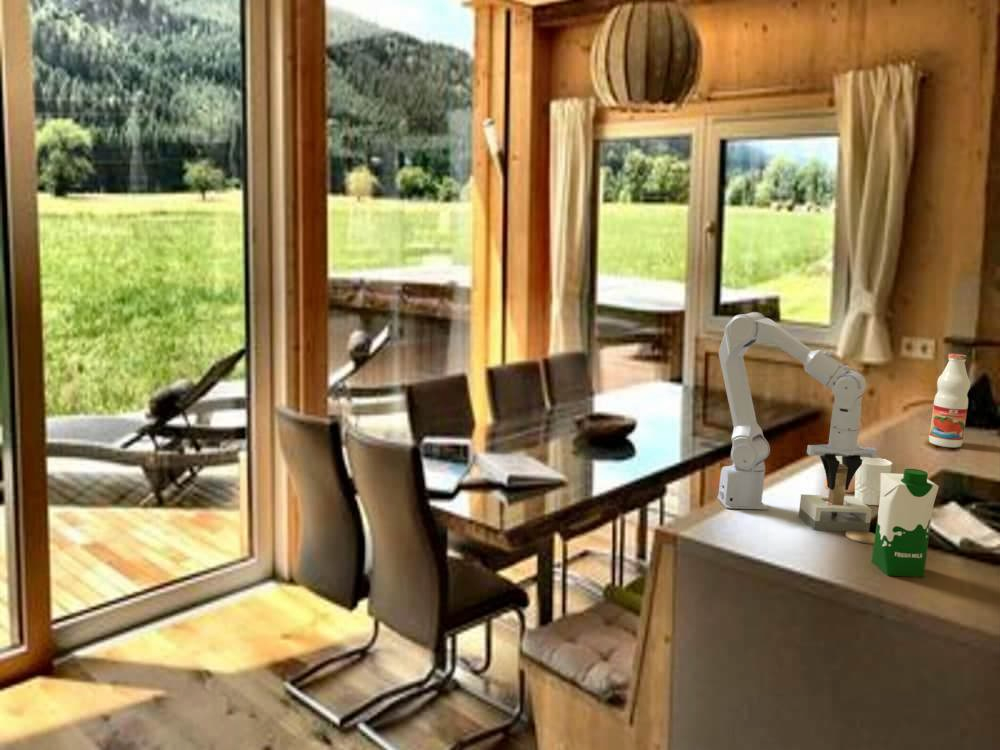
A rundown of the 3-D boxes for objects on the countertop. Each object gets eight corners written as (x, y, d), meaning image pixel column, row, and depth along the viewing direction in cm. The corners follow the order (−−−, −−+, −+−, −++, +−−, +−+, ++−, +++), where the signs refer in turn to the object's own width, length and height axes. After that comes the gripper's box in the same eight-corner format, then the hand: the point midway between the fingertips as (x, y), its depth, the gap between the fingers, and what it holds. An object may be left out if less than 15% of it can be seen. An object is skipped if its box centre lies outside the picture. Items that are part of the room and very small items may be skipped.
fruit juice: (959, 442, 283) (972, 354, 278) (963, 449, 274) (977, 358, 269) (926, 438, 286) (939, 351, 281) (929, 445, 277) (942, 355, 272)
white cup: (865, 507, 212) (870, 465, 210) (844, 496, 219) (849, 456, 217) (894, 505, 214) (899, 465, 212) (872, 495, 221) (877, 456, 220)
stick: (832, 504, 196) (836, 466, 195) (827, 501, 199) (832, 463, 197) (843, 505, 196) (848, 467, 195) (838, 501, 199) (843, 464, 197)
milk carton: (884, 577, 169) (898, 474, 165) (864, 559, 178) (876, 460, 174) (931, 579, 169) (945, 476, 166) (908, 561, 178) (921, 462, 175)
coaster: (854, 543, 187) (854, 541, 187) (840, 531, 194) (840, 529, 193) (887, 544, 187) (887, 542, 187) (872, 532, 194) (872, 530, 194)
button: (830, 516, 197) (831, 505, 196) (824, 511, 200) (826, 500, 199) (843, 516, 197) (845, 505, 196) (838, 512, 200) (839, 501, 199)
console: (814, 529, 194) (816, 507, 193) (798, 515, 203) (801, 494, 202) (868, 531, 194) (871, 509, 193) (851, 517, 203) (853, 496, 202)
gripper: (818, 430, 190) (811, 492, 193) (886, 433, 191) (878, 495, 193) (806, 422, 197) (799, 483, 200) (871, 425, 198) (863, 485, 200)
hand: (837, 488), depth 197 cm, fingers closed on stick, 2 cm apart
